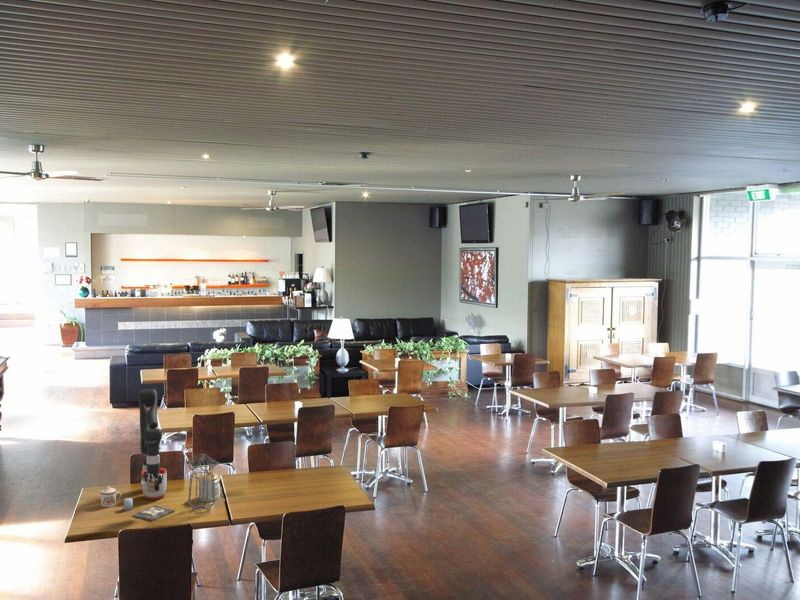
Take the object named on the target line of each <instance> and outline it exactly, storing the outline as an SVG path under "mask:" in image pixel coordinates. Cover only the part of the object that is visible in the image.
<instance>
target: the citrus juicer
mask: <svg viewBox="0 0 800 600" xmlns="http://www.w3.org/2000/svg"><path fill="white" fill-rule="evenodd" d="M145 471H147V469H145V470H143V469H142V470H141V481H140V483H141V489H142V493H143V497H144V499H145V500H150V501H156V500H160V499H162V498H164V497H165V495H166V491H167V486H168V485H167V484H168V479H167V477H168V475H167V474H168V473H167V472H168V470H167V468H165V467H160V469H159V474H163V479H162V483H161V484H160V490H159V491H157V492H154V493H152V492H147V482H145V478H144V472H145ZM156 479H157V478H156ZM152 480H153V479H152Z"/></svg>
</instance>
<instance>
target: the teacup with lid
mask: <svg viewBox="0 0 800 600" xmlns="http://www.w3.org/2000/svg"><path fill="white" fill-rule="evenodd" d="M117 494H119V497H118V498H117ZM121 498H122V493H121V492H120V491H117V489H116V488H114V487H111V486H109V485H108V486H106V488H103V489H101V490H100V506H101V507H102V508H112V507H114V506H116V504H117V501H119V500H120V499H121Z"/></svg>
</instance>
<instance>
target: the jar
mask: <svg viewBox="0 0 800 600" xmlns="http://www.w3.org/2000/svg"><path fill="white" fill-rule="evenodd" d="M210 471H211V470H209V471H208V473H205V477H208V478H204V473H203V474H202V475H199V477H200V478H203V479H200V499H201V498H207V482H208V499H210V500H212V501H213V496H214V494H215V501H217V500H218V499H220V494H221V493H220V486H221V485H220V478H219V475H218V474H216V473H214V472H213V475H214V491H213V495H212V478H213V477H210V476H212V475H211V473H212V472H211V473H210ZM209 473H210V474H209ZM203 481H204V496H203ZM206 500H207V499H203V502H205V501H206ZM210 500H207V501H206V502H212V501H210ZM200 502H202V499H201V500H200Z"/></svg>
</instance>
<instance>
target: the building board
mask: <svg viewBox="0 0 800 600" xmlns="http://www.w3.org/2000/svg"><path fill="white" fill-rule="evenodd" d="M175 512H176V510H175V509H171V508H168V507H165V506H159V505H155V504H154V505H152V506H150V507H148V508H145V509H142V510H140V511H137V512H135V513H133V514H132V515H131V516H132V517H134V518H137V519H141V520H144V521H149V522H154V521H157V520H159V519H161V518H164V517H167V516H168V515H170V514H173V513H175Z"/></svg>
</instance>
